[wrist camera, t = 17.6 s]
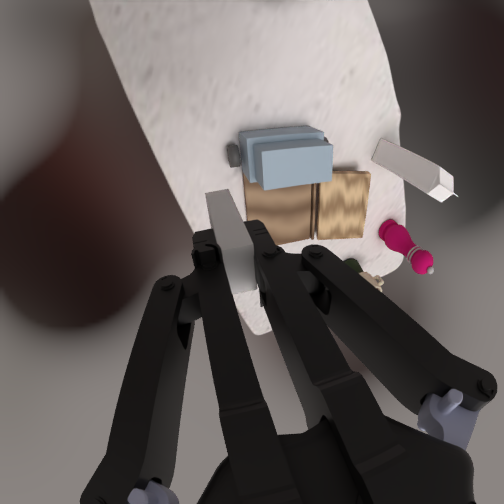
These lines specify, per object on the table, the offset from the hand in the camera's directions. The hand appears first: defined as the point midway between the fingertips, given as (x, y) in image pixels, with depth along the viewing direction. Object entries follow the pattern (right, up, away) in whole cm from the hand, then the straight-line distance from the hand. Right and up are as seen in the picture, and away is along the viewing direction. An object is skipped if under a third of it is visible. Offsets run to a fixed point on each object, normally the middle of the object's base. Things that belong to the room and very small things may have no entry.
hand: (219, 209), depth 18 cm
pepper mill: (+40, +4, +53) cm, 66 cm away
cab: (+7, +17, +33) cm, 38 cm away
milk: (+33, +20, +39) cm, 55 cm away
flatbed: (+8, +7, +41) cm, 42 cm away
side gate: (+16, +7, +41) cm, 44 cm away
